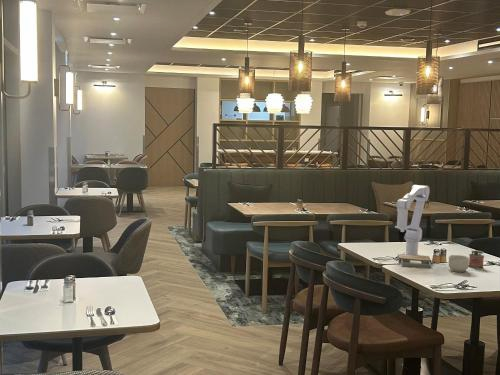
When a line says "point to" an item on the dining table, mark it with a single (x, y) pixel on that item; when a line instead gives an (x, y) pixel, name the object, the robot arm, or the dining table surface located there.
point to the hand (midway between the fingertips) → (400, 241)
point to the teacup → (458, 263)
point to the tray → (407, 264)
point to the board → (413, 257)
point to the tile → (415, 262)
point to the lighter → (476, 259)
